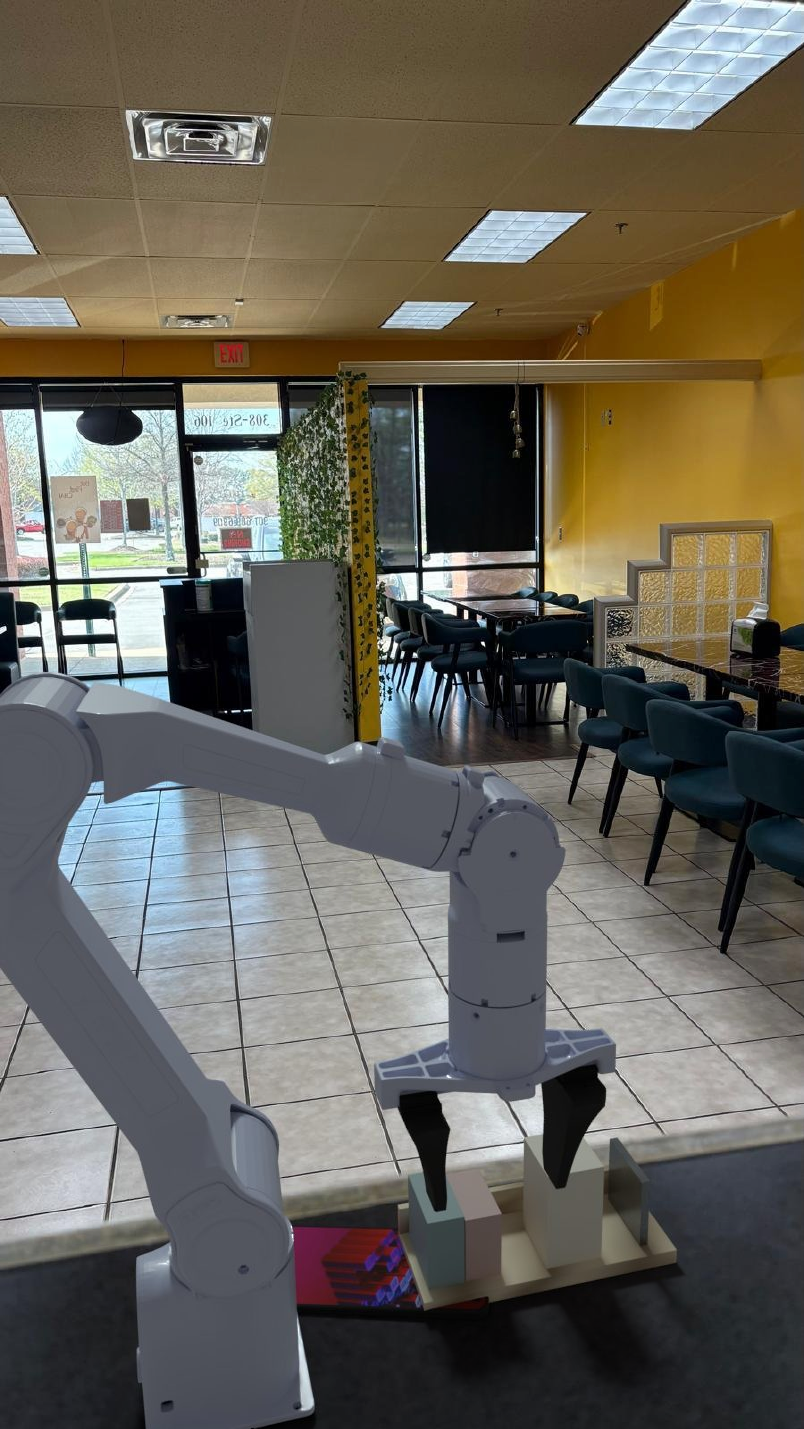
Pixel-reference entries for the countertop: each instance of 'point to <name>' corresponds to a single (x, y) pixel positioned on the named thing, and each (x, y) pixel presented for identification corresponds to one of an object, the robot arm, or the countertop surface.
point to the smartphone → (363, 1275)
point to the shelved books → (455, 1230)
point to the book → (563, 1206)
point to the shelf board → (524, 1263)
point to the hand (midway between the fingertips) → (496, 1189)
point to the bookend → (629, 1191)
